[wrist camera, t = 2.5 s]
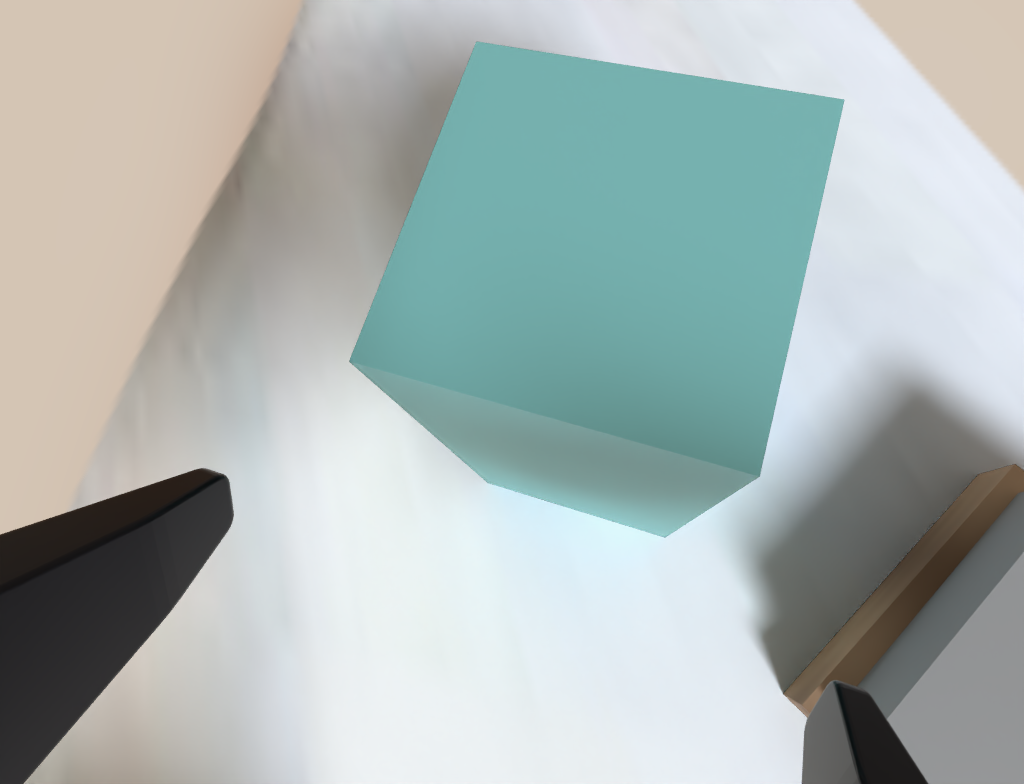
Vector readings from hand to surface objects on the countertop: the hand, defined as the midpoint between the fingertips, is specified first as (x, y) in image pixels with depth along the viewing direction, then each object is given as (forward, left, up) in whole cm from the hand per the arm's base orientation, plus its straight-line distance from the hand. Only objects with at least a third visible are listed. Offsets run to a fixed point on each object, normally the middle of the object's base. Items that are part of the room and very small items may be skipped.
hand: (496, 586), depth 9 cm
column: (+5, +1, -12) cm, 13 cm away
